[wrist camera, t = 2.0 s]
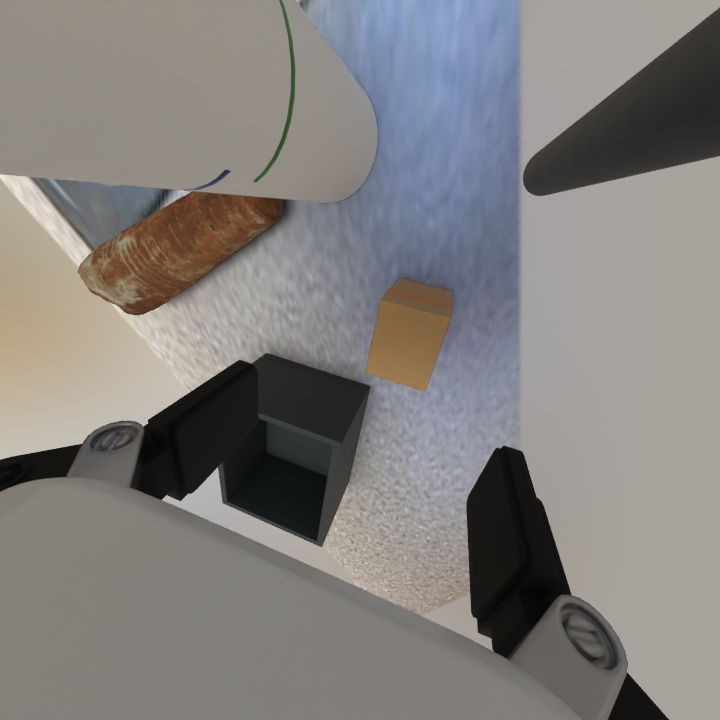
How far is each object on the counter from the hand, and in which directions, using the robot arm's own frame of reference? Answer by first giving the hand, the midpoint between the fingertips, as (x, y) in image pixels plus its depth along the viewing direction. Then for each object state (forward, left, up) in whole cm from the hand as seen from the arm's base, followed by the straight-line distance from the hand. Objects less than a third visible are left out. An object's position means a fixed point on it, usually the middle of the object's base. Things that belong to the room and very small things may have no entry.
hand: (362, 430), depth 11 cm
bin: (+15, -8, -14) cm, 22 cm away
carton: (0, 0, -14) cm, 14 cm away
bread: (-2, -20, -14) cm, 24 cm away
